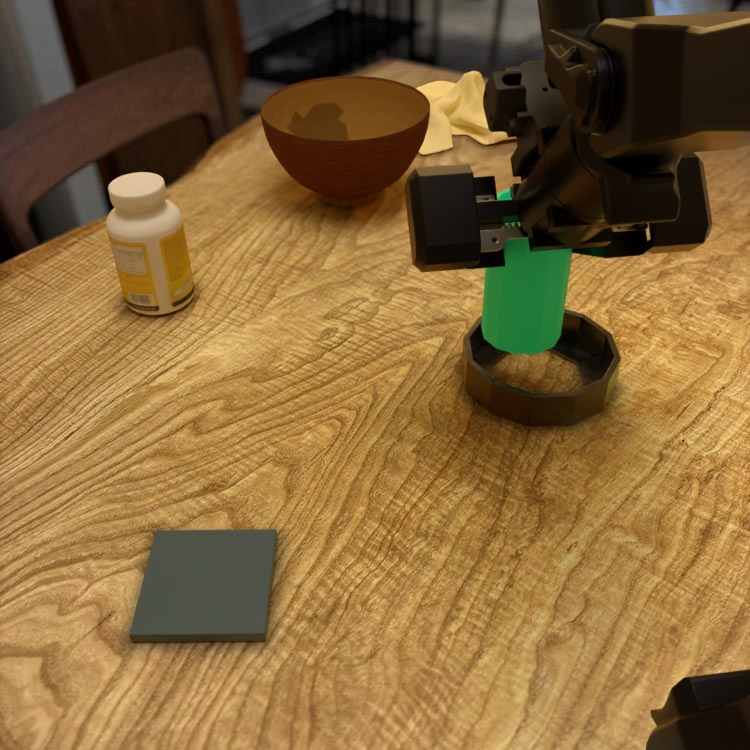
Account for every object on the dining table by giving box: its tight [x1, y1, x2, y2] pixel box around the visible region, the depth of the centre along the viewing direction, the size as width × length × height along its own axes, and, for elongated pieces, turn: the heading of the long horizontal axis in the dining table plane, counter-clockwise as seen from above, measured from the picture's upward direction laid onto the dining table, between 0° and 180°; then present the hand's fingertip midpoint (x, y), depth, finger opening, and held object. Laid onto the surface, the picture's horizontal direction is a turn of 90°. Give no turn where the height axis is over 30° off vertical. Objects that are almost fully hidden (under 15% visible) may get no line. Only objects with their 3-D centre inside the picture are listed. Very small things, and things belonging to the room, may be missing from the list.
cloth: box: [414, 70, 516, 156], centre depth 108 cm, size 22×19×6 cm
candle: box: [481, 187, 573, 355], centre depth 61 cm, size 6×6×12 cm
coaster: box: [128, 528, 278, 643], centre depth 53 cm, size 8×8×1 cm
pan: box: [461, 308, 622, 427], centre depth 75 cm, size 28×12×3 cm, turn 1°
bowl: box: [260, 75, 430, 207], centre depth 92 cm, size 18×18×10 cm
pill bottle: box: [105, 171, 196, 316], centre depth 75 cm, size 6×6×12 cm
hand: (523, 246), depth 62 cm, fingers closed on candle, 5 cm apart
